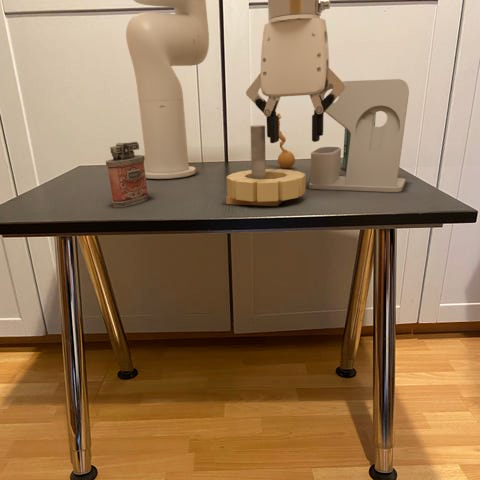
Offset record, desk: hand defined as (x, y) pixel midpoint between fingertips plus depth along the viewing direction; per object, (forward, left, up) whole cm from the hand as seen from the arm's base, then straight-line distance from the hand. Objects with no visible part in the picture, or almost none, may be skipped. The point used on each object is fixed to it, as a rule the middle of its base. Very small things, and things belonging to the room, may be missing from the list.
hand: (294, 140), depth 78 cm
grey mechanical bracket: (+9, +15, -10) cm, 20 cm away
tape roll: (-5, 0, -8) cm, 10 cm away
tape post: (-6, 0, -10) cm, 12 cm away
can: (+7, +34, -10) cm, 36 cm away
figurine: (-10, +32, -10) cm, 35 cm away
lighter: (-28, -6, -10) cm, 31 cm away
